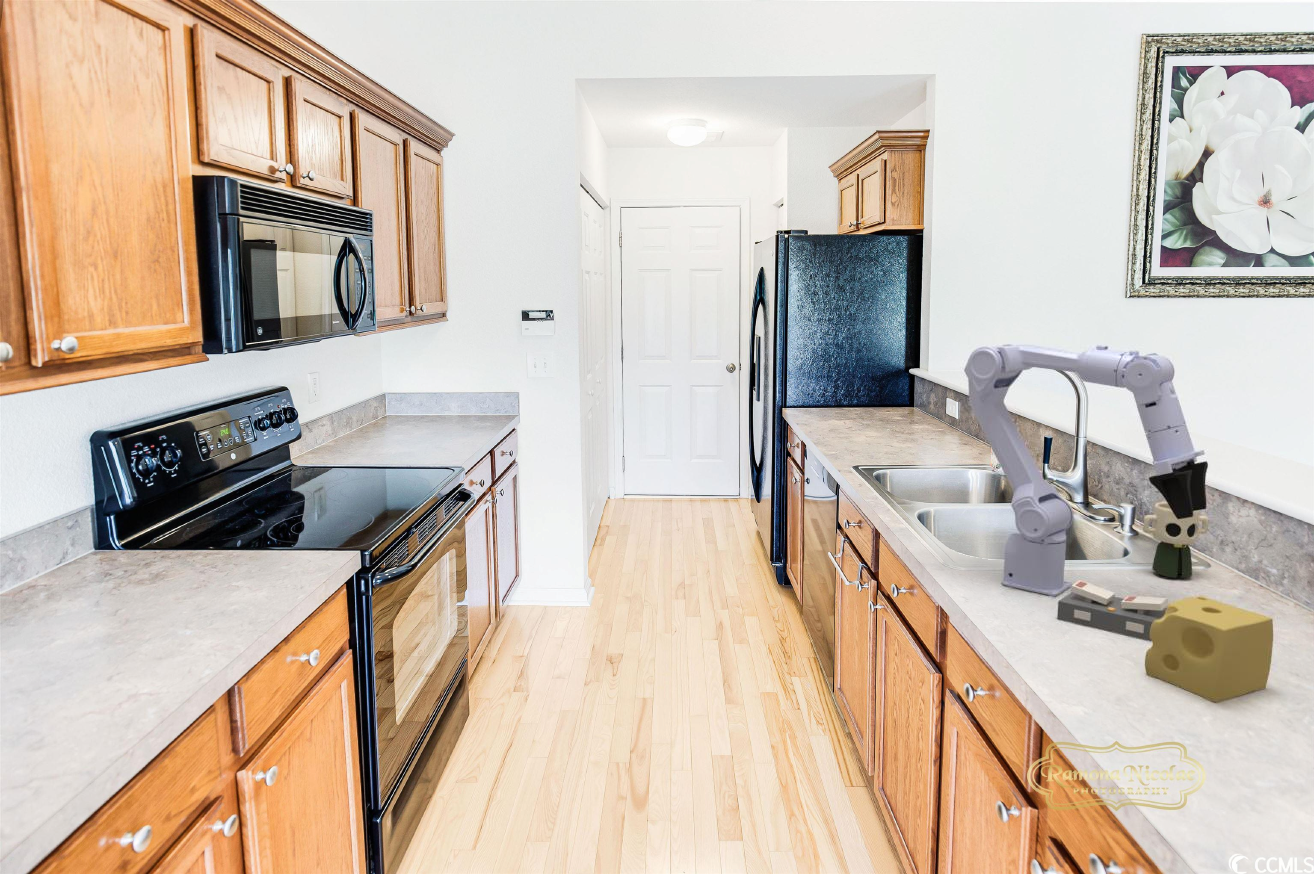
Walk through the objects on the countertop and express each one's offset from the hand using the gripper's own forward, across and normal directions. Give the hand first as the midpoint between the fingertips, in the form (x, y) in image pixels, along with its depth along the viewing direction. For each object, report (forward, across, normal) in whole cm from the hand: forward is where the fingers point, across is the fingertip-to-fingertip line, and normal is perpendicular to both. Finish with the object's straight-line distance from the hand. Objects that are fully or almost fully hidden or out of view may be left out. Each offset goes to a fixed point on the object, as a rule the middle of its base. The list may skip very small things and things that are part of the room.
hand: (1192, 513), depth 135 cm
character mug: (+13, +24, +13) cm, 30 cm away
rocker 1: (+9, -8, +15) cm, 19 cm away
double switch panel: (+14, -8, +13) cm, 21 cm away
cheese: (+20, -22, -2) cm, 30 cm away
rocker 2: (+11, -8, +8) cm, 16 cm away
